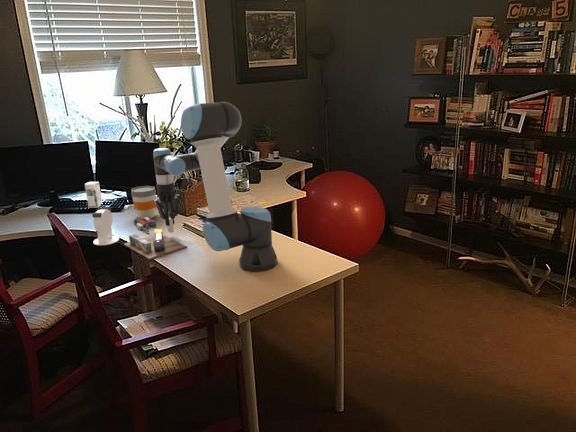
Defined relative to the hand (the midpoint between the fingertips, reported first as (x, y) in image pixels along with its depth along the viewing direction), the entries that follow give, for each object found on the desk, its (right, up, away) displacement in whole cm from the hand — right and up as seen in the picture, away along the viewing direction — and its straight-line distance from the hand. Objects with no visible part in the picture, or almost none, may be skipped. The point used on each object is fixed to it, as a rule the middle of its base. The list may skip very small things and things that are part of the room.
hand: (170, 231), depth 227 cm
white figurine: (-29, -4, -1) cm, 30 cm away
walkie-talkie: (-16, +1, +15) cm, 22 cm away
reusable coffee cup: (-20, +7, +31) cm, 38 cm away
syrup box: (-55, +12, +49) cm, 74 cm away
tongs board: (-4, -6, -11) cm, 13 cm away
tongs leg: (-3, -5, -10) cm, 11 cm away
